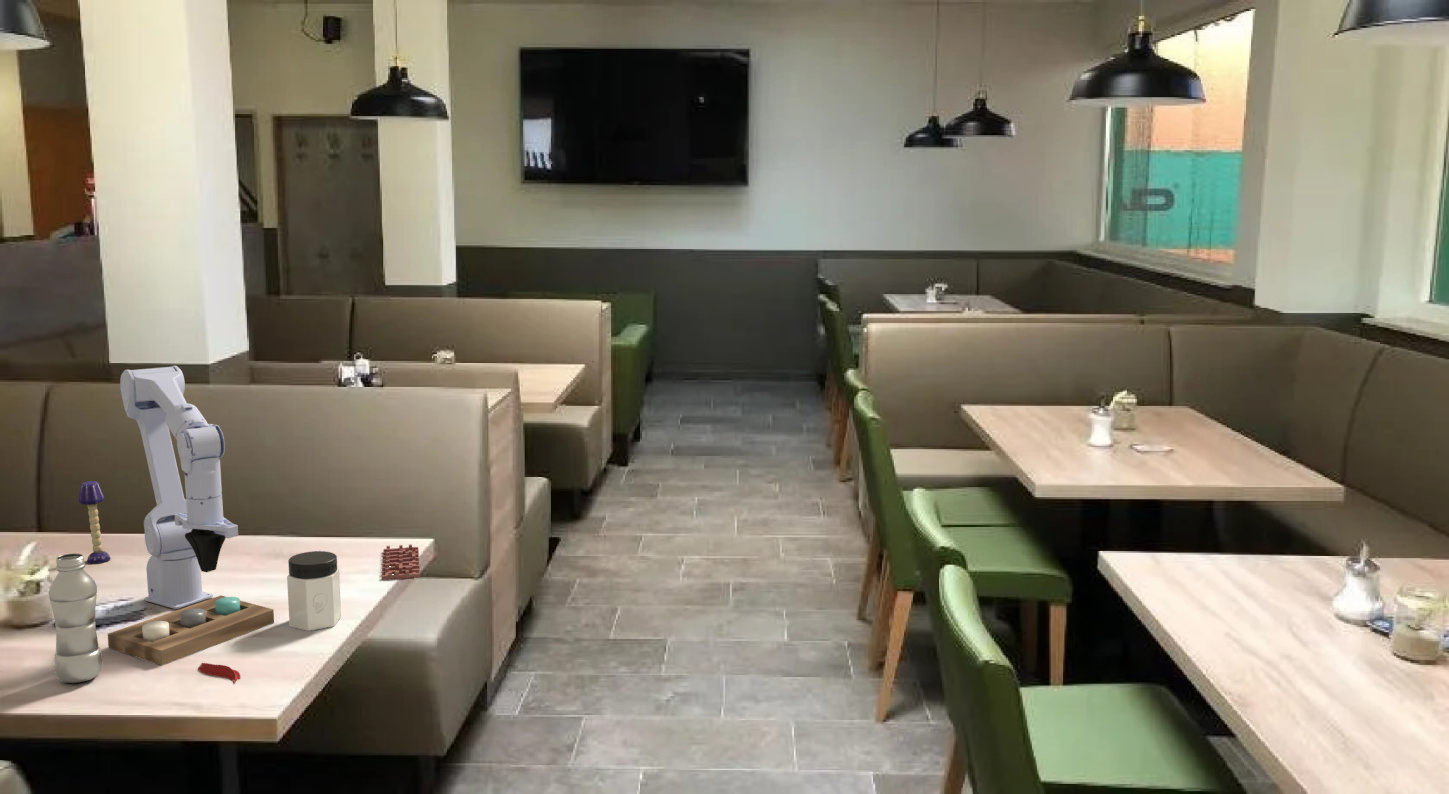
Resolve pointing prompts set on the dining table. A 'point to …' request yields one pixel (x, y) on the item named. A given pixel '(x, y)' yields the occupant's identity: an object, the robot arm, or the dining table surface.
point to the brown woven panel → (400, 563)
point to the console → (190, 632)
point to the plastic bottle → (75, 621)
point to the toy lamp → (93, 519)
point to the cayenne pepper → (219, 671)
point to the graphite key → (192, 618)
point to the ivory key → (155, 630)
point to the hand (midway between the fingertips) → (208, 570)
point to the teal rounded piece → (227, 605)
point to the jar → (313, 590)
